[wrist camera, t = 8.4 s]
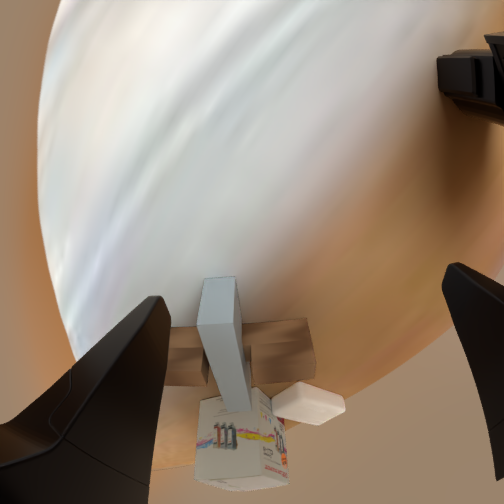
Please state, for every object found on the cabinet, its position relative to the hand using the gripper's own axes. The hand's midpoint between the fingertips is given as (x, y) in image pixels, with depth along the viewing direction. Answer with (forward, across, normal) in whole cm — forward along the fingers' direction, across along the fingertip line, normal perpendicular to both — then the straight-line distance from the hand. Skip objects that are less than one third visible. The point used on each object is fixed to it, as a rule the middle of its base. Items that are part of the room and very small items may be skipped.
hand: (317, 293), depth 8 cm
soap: (+12, -2, +29) cm, 31 cm away
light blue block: (+11, +6, +14) cm, 19 cm away
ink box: (+11, +6, +29) cm, 32 cm away
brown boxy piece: (+11, +6, +14) cm, 19 cm away
